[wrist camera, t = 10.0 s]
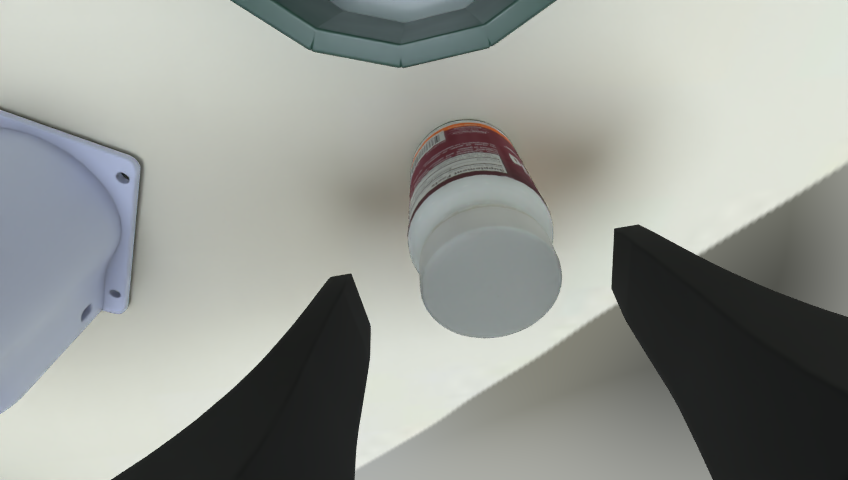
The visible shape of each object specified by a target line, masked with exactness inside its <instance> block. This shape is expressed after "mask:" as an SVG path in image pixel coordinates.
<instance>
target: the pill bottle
mask: <svg viewBox="0 0 848 480" xmlns="http://www.w3.org/2000/svg"><path fill="white" fill-rule="evenodd" d="M552 243H553V223H552V219H551V215H550V212H549V209H548V207H547V205H546V203H545V202H544V200H543V198H542V197H541V195H540V193H539V192H538V190H537V188H536V187H535V185H534V183H533V181H532V179H531V177H530V175H529V173H528V172H527V170H526V168H525V167H524V165H523V162H522V161H521V159H520V158H519V156H518V154H517V152H516V150H515V149H514V147H513V145H512V143H511V142H510V140H509V139H508V138H507V137H506V135H505V134H504V133H502V132H501V131H500V130H499V129H497V128H495V127H494V126H492V125H490V124H487V123H485V122H481V121H475V120H460V121H454V122H450V123H447V124H444V125H442V126H440V127H439V128H437V129H435V130H434V131H433V132H431V133H430V134H429V135H428V136H427V137H426V138H425V139H424V140H423V141H422V142H421V144H420V145H419V147H418V148H417V150H416V153H415V155H414V158H413V161H412V166H411V183H410V202H409V226H408V245H409V251H410V256H411V259H412V262H413V264H414V266H415V268H416V270H417V271H418V273H419V274H420V290H421V296H422V299H423V302H424V305H425V307H426V309H427V310H428V312H429V313H430V315H431V316H432V317H433V318H434V319H435V320H436V321H437V322H438V323H439V324H441V325H442V326H443V327H445V328H447V329H449V330H450V331H453V332H455V333H457V334H460V335H464V336H469V337H476V338H495V337H502V336H507V335H510V334H513V333H516V332H519V331H521V330H523V329H526V328H528V327H529V326H531V325H533V324H534V323H536V322H537V321H538V320H539V319H541V318H542V317H543V316H544V315H545V314H546V313H547V312H548V311H549V309H550V308H551V307H552V306H553V304H554V302H555V301H556V299H557V297H558V294H559V292H560V288H561V283H562V271H561V266H560V262H559V259H558V256H557V254H556V252H555V250H554V247H553V245H552Z"/></svg>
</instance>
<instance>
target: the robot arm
mask: <svg viewBox="0 0 848 480" xmlns="http://www.w3.org/2000/svg"><path fill="white" fill-rule="evenodd" d="M122 173H124V174H126V175H127V176H128V177H129V180H128V179H126V178H124V177H123V175H122ZM139 180H140V164H139V163H138V161H137V160H136V159H135V158H134V157H132V156H130V155H128V154H125V153H122V152H119V151H116V150H113V149H111V148H108V147H105V146H102V145H99V144H96V143H94V142H91V141H88V140H85V139H82V138H79V137H76V136H74V135H71V134H68V133H65V132H62V131H59V130H57V129H54V128H51V127H48V126H45V125H42V124H39V123H37V122H34V121H31V120H28V119H25V118H22V117H19V116H17V115H14V114H11V113H8V112H5V111H2V110H0V414H1V413H3V412H4V411H6V410H7V409H9V408H10V407H11V406H12V405H14V404H15V403H16V402H17V401H18V400H19V399H21V398H22V397H23V396H24V395H25V393H26V392H27V391H28V390H29V389H30V388H31V387H32V386H33V385H34V384H35V383H36V381H37V380H38V379H39V378H40V377H41V376H42V375H43V374H44V373H45V372H46V371H47V369H48V368H49V367H50V366H51V365H52V364H53V363H54V362H55V361H56V360H57V358H58V357H59V356H60V355H61V354H62V353H63V352H64V351H65V350H66V349H67V348H68V346H69V345H70V344H71V343H72V342H73V341H74V340H75V339H76V338H77V337H78V336H79V334H80V333H81V332H82V331H83V330H84V329H85V328H86V327H87V326H88V325H89V323H90V322H91V321H92V320H93V319H94V318H95V317H96V316H97V315H98V314H99V313H100V311H101V310H103V311H107V312H111V313H115V314H121V313H123V312H124V311H125V310H126V309H127V307H128V303H129V292H130V281H131V270H132V258H133V247H134V236H135V225H136V214H137V203H138V192H139ZM117 291H118V292H117ZM612 291H613V293H614V295H615V298H616V300H617V302H618V305H619V307H620V309H621V311H622V313H623V316H624V318H625V320H626V322H627V323H628V325H629V327H630V328H631V330H632V332H633V333H634V335H635V337H636V338H637V340H638V341H639V343H640V345H641V346H642V348H643V349H644V351H645V352H646V354H647V356H648V358H649V359H650V361H651V362H652V364H653V365H654V367H655V369H656V370H657V372H658V374H659V375H660V377H661V378H662V380H663V382H664V383H665V385H666V386H667V388H668V389H669V391H670V393H671V395H672V396H673V398H674V400H675V402H676V403H677V405H678V407H679V409H680V411H681V413H682V415H683V417H684V419H685V421H686V423H687V426H688V428H689V429H690V432H691V433H692V435H693V438H694V440H695V442H696V444H697V446H698V448H699V450H700V453H701V455H702V457H703V459H704V461H705V464H706V465H707V468H708V470H709V472H710V474H711V476H712V479H713V480H848V317H846V316H843V315H840V314H837V313H833V312H830V311H827V310H824V309H821V308H819V307H816V306H813V305H810V304H807V303H804V302H802V301H799V300H797V299H794V298H791V297H789V296H786V295H783V294H781V293H778V292H775V291H773V290H771V289H768V288H766V287H763V286H761V285H758V284H756V283H754V282H752V281H749V280H747V279H745V278H743V277H741V276H738V275H736V274H734V273H732V272H730V271H727V270H725V269H723V268H721V267H719V266H717V265H715V264H713V263H711V262H709V261H707V260H705V259H703V258H701V257H699V256H697V255H695V254H693V253H692V252H690V251H688V250H686V249H684V248H682V247H680V246H678V245H677V244H675V243H673V242H671V241H669V240H667V239H665V238H664V237H662V236H660V235H658V234H656V233H654V232H652V231H650V230H648V229H646V228H644V227H642V226H640V225H633V226H627V227H621V228H615V229H614V247H613V267H612ZM370 337H371V326H370V323H369V320H368V317H367V315H366V312H365V309H364V307H363V304H362V301H361V299H360V296H359V293H358V290H357V288H356V285H355V282H354V280H353V277H352V274H345V275H340V276H334V277H330V278H329V279H328V281H327V282H326V283H325V284H324V286H323V287H322V288H321V290H320V291H319V292H318V293H317V295H316V296H315V297H314V299H313V300H312V301H311V303H310V304H309V305H308V307H307V308H306V309H305V310H304V312H303V313H302V314H301V315H300V317H299V318H298V319H297V320H296V322H295V323H294V324H293V325H292V327H291V328H290V329H289V330H288V331H287V332H286V334H285V335H284V336H283V337H282V338H281V339H280V340H279V342H278V343H277V344H276V345H275V346H274V347H273V348H272V350H271V351H270V352H269V353H268V354H267V355H266V356H265V357H264V358H263V360H262V361H261V362H260V363H259V364H258V365H257V366H256V367H255V368H254V369H253V370H252V371H251V372H250V373H249V374H248V375H247V376H246V377H245V378H244V379H242V380H241V381H240V382H239V383H238V384H237V385H236V386H235V387H234V388H233V389H232V390H231V391H230V392H228V393H227V394H226V395H225V396H224V397H223V398H221V399H220V400H219V401H218V402H217V403H216V404H214V405H213V406H212V407H211V408H210V409H208V410H207V411H206V412H205V413H204V414H203V415H201V416H200V417H199V418H198V419H197V420H195V421H194V422H193V423H191V424H190V425H189V426H188V427H186V428H185V429H184V430H182V431H181V432H180V433H178V434H177V435H176V436H174V437H173V438H172V439H170V440H169V441H167V442H166V443H165V444H163V445H162V446H161V447H159V448H158V449H156V450H155V451H154V452H152V453H151V454H149V455H148V456H146V457H145V458H143V459H142V460H140V461H139V462H137V463H136V464H134V465H133V466H131V467H130V468H128V469H127V470H125V471H124V472H122V473H121V474H119V475H118V476H116V477H114V478H113V479H111V480H354V478H355V461H356V446H357V438H358V430H359V424H360V418H361V412H362V405H363V399H364V393H365V387H366V381H367V374H368V368H369V361H370Z"/></svg>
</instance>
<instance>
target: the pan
mask: <svg viewBox="0 0 848 480" xmlns="http://www.w3.org/2000/svg"><path fill="white" fill-rule="evenodd" d="M231 1H232V2H234V3H235V4H237V5H239V6H240V7H242V8H243V9H245V10H247V11H248V12H250V13H251V14H253V15H254V16H256V17H258V18H259V19H261V20H262V21H264V22H265V23H267V24H269V25H270V26H272V27H273V28H275V29H277V30H278V31H280V32H281V33H283V34H284V35H286V36H288V37H289V38H291V39H292V40H294V41H296V42H297V43H299V44H300V45H302V46H303V47H305V48H307V49H308V50H311V49H312V51H313V52H317V53H322V54H328V55H333V56H338V57H344V58H349V59H355V60H360V61H365V62H371V63H376V64H381V65H387V66H392V67H397V68H400V67H402V68H406V67H410V66H414V65H419V64H423V63H427V62H431V61H436V60H440V59H444V58H448V57H453V56H457V55H461V54H466V53H470V52H474V51H478V50H483V49H487V48H489V47H490V46H493V45H495V44H496V43H498V42H499V41H500V40H502V39H503V38H505V37H506V36H507V35H509V34H510V33H512V32H513V31H514V30H516V29H517V28H519V27H520V26H521V25H523V24H524V23H526V22H527V21H528V20H530V19H531V18H533V17H534V16H535V15H537V14H538V13H540V12H541V11H542V10H544V9H545V8H547V7H548V6H549V5H551V4H552V3H554V2H555V1H556V0H231Z"/></svg>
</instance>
